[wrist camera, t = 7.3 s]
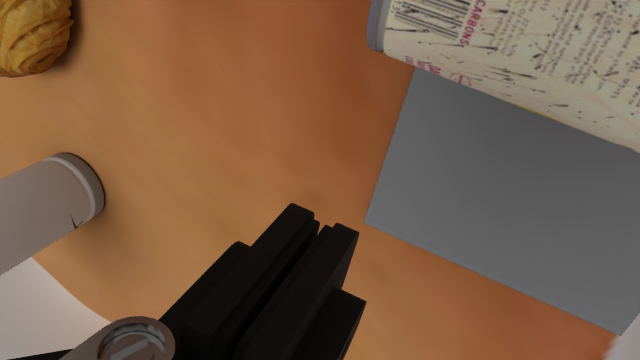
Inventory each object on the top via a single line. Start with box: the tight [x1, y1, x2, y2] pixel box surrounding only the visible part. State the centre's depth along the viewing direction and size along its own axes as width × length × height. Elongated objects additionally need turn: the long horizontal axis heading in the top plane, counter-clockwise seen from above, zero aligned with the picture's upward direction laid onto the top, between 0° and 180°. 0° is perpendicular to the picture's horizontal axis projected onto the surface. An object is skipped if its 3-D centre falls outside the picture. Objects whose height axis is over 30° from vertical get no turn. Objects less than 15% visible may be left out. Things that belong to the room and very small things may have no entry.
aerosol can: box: [366, 0, 640, 153], centre depth 19 cm, size 7×7×20 cm
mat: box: [364, 67, 640, 336], centre depth 24 cm, size 20×16×1 cm
